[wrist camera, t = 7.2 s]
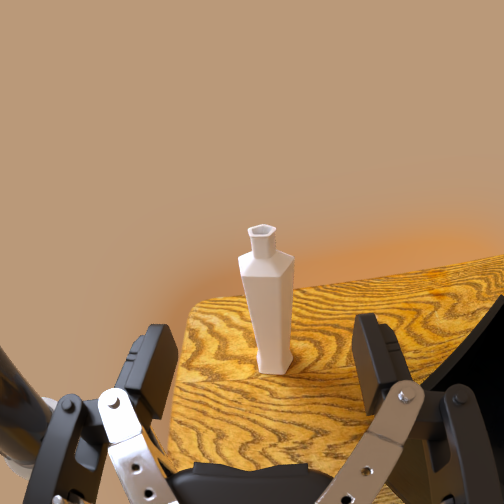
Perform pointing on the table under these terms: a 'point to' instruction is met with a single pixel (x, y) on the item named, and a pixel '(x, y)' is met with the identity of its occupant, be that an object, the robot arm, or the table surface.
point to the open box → (487, 395)
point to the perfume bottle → (269, 298)
